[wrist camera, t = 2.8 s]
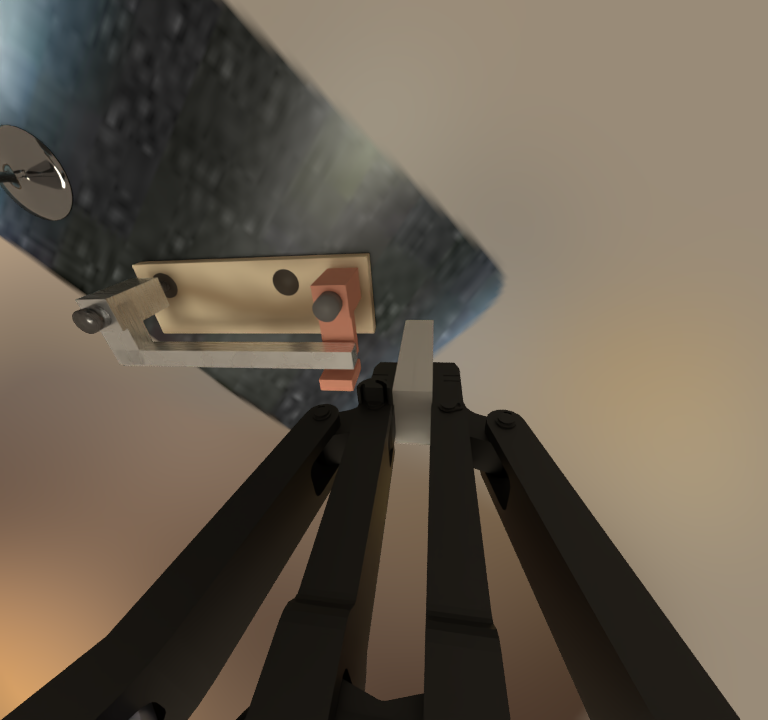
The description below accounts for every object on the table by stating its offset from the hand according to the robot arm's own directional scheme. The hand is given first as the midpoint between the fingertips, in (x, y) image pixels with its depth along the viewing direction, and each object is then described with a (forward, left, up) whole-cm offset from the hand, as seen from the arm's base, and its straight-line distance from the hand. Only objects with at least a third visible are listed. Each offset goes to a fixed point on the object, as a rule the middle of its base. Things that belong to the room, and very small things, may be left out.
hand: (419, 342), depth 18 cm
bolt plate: (+1, -16, -12) cm, 19 cm away
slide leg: (+2, -7, -10) cm, 12 cm away
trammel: (+1, -15, -10) cm, 19 cm away
